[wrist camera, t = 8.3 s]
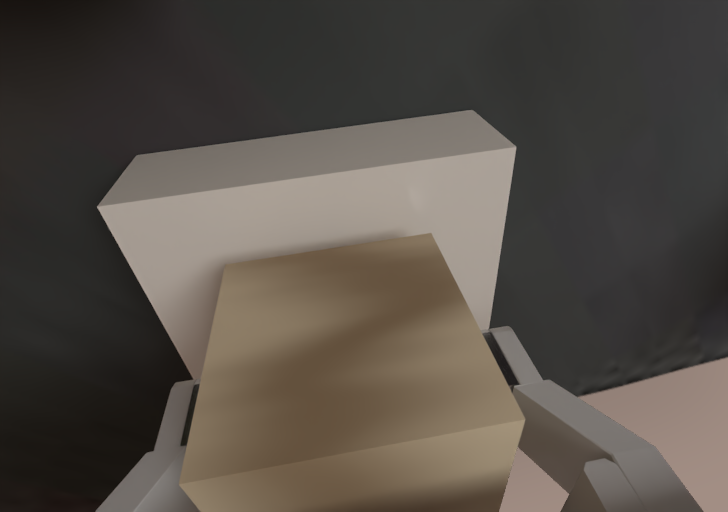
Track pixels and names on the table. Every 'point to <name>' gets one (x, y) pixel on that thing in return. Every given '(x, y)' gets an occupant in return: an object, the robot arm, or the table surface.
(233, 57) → the table surface
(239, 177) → the tile slab
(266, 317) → the maple cube
